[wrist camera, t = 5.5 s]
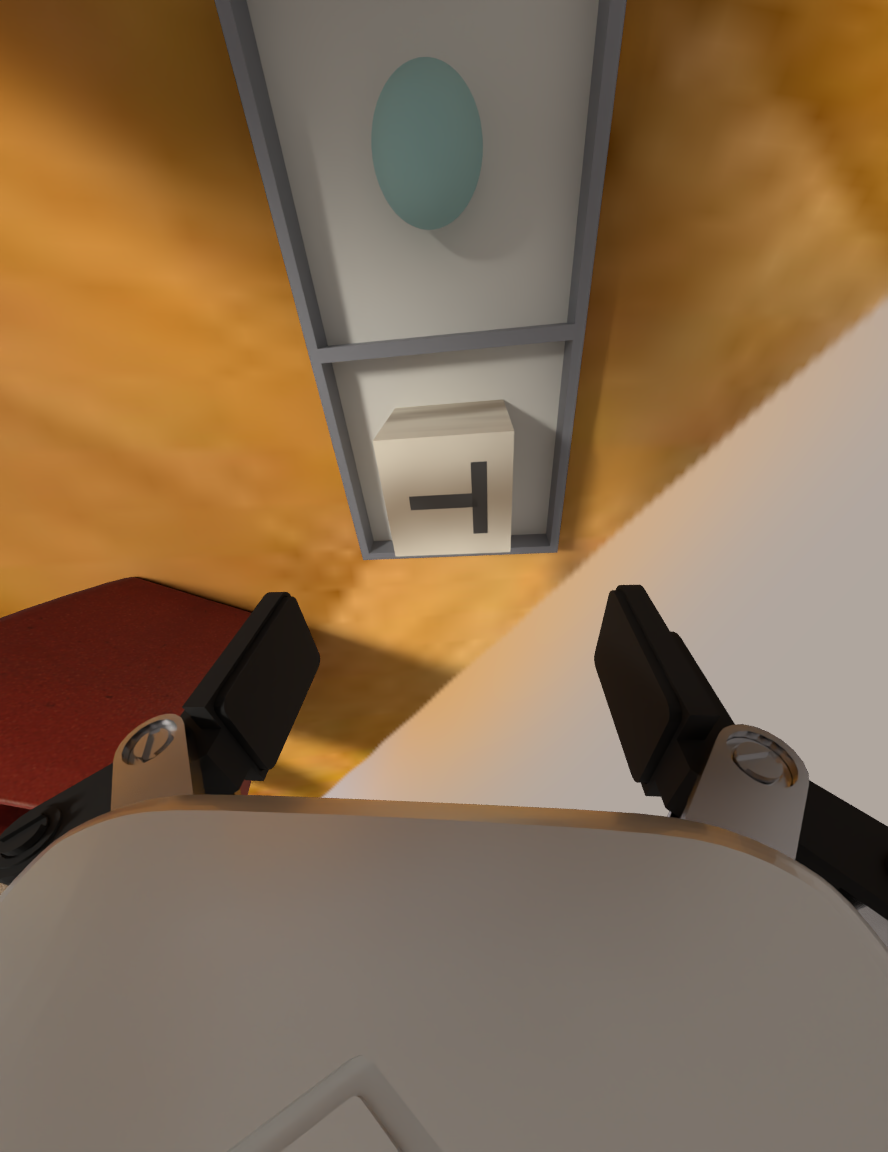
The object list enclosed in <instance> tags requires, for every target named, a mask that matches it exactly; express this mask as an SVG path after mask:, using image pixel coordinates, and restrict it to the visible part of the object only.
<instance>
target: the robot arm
mask: <svg viewBox="0 0 888 1152" xmlns="http://www.w3.org/2000/svg"><path fill="white" fill-rule="evenodd" d="M594 661H595V667H596V670H597V673H598V676H599V679H600V682H601V685H602V688H603V691H604V694H605V697H606V700H607V703H608V706H609V709H610V712H611V715H612V718H613V721H614V724H615V727H616V730H617V733H618V736H619V739H620V742H621V745H622V748H623V751H624V753H625V757H626V760H627V763H628V766H629V769H630V772H631V775H632V777H633V779H634V781H635V782H641V784H642V787H643V790H644V793H645V795H646V796H660V797H662V800H663V803H664V805H665V808H667V809H668V810H669V813H668V816H667V817H664V816H655V815H646V814H637V813H622V812H607V811H592V810H577V809H559V808H539V807H518V806H497V805H477V804H455V803H432V802H409V801H386V800H364V799H339V798H313V797H287V796H260V795H241V791H240V787H241V785H242V783H243V781H244V779H245V780H252V781H264V779H265V777H266V774H267V772H268V770H269V769H272V768H273V767H274V766H275V764H276V762H277V760H278V758H279V755H280V753H281V751H282V749H283V746H284V744H285V742H286V740H287V737H288V735H289V733H290V731H291V728H292V726H293V724H294V721H295V719H296V717H297V715H298V712H299V710H300V708H301V706H302V703H303V701H304V699H305V697H306V694H307V692H308V690H309V688H310V685H311V683H312V681H313V678H314V676H315V674H316V672H317V669H318V667H319V664H320V655H319V652H318V650H317V648H316V645H315V643H314V640H313V638H312V636H311V633H310V631H309V629H308V626H307V624H306V622H305V619H304V617H303V614H302V612H301V610H300V607H299V605H298V603H297V600H296V599H295V598H294V597H291V595H290V594H289V593H288V592H269V593H267V594H266V595H265V596H264V597H263V598H262V600H261V601H260V602H259V604H258V605H257V606H256V608H255V609H254V610H253V612H252V613H251V614H250V616H249V617H248V619H247V620H246V621H245V623H244V624H243V625H242V627H241V628H240V629H239V631H238V632H237V633H236V635H235V636H234V637H233V639H232V640H231V641H230V643H229V644H228V645H227V647H226V648H225V650H224V651H223V652H222V654H221V655H220V656H219V658H218V659H217V660H216V662H215V663H214V664H213V666H212V667H211V668H210V670H209V671H208V672H207V674H206V675H205V677H204V678H203V679H202V681H201V682H200V683H199V685H198V686H197V687H196V689H195V690H194V691H193V693H192V694H191V695H190V697H189V698H188V699H187V701H186V702H185V703H184V705H183V706H182V708H183V709H184V711H183V713H182V714H181V715H180V717H179V716H178V715H176V714H164V715H159V716H156V717H154V718H151V719H149V720H147V721H146V722H144V723H142V724H141V725H139V726H138V727H136V728H135V729H134V730H133V731H131V732H130V733H129V734H128V735H127V736H126V737H125V738H124V740H123V741H122V742H121V743H120V745H119V747H118V748H117V750H116V752H115V755H114V759H113V763H111V764H110V765H108V766H106V767H104V768H103V769H101V770H99V771H98V772H96V773H94V774H92V775H91V776H89V777H87V778H85V779H84V780H82V781H80V782H78V783H77V784H75V785H73V786H71V787H70V788H68V789H66V790H64V791H63V792H61V793H59V794H57V795H56V796H54V797H52V798H50V799H49V800H47V801H45V802H43V803H42V804H40V805H38V806H36V807H35V808H33V809H31V810H30V811H28V812H27V813H25V814H24V815H22V816H21V817H19V818H18V819H17V820H16V821H15V822H13V823H12V824H11V825H10V826H9V827H8V828H6V829H5V831H4V832H3V833H2V834H1V835H0V1152H888V826H886V825H884V824H882V823H881V822H879V821H877V820H876V819H874V818H872V817H871V816H869V815H867V814H865V813H864V812H862V811H860V810H859V809H857V808H855V807H854V806H852V805H850V804H849V803H847V802H845V801H843V800H842V799H840V798H838V797H837V796H835V795H833V794H832V793H830V792H828V791H826V790H825V789H823V788H821V787H820V786H818V785H816V784H814V783H813V782H811V781H809V775H808V771H807V769H806V767H805V765H804V763H803V761H802V760H801V759H800V757H799V756H798V755H797V754H796V752H795V751H794V750H793V749H792V748H791V747H789V746H788V745H787V744H786V743H785V742H784V741H782V740H781V739H779V738H778V737H776V736H774V735H772V734H771V733H769V732H767V731H765V730H762V729H760V728H757V727H754V726H749V725H744V724H738V725H735V724H734V722H733V721H732V719H731V717H730V716H729V714H728V713H727V711H726V709H725V708H724V706H723V705H722V703H721V702H720V700H719V698H718V697H717V695H716V694H715V692H714V690H713V689H712V687H711V685H710V684H709V682H708V681H707V679H706V677H705V676H704V674H703V673H702V671H701V670H700V668H699V666H698V665H697V663H696V661H695V660H694V658H693V657H692V655H691V653H690V652H689V650H688V648H687V647H686V645H685V644H684V642H683V640H682V639H681V638H680V636H679V635H678V634H677V633H675V632H670V631H669V629H668V628H667V626H666V624H665V623H664V621H663V619H662V617H661V616H660V614H659V612H658V611H657V609H656V608H655V606H654V604H653V603H652V601H651V600H650V598H649V596H648V594H647V593H646V591H645V589H644V588H643V587H642V586H641V585H619V586H618V587H617V588H616V590H612V591H610V593H609V596H608V601H607V605H606V609H605V613H604V617H603V622H602V626H601V630H600V634H599V638H598V642H597V646H596V651H595V656H594Z"/></svg>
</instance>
